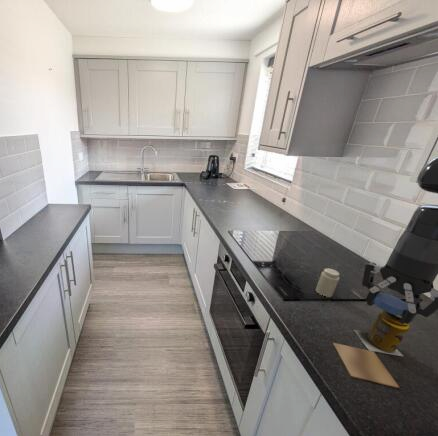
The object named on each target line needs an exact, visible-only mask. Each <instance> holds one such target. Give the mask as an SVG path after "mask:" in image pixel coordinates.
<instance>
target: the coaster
mask: <svg viewBox="0 0 438 436" xmlns="http://www.w3.org/2000/svg"><path fill="white" fill-rule="evenodd" d="M332 345H333V348H334V349H335V351H336V352H337V354H338V356H339V358H340V360H341V362H342V363H343V365H344V367H345V369H346V370H347V372H348V375H349V377H351V378H355V379H358V380H363V381H367V382H371V383H375V384H379V385H383V386H388V387H392V388H395V389H400V386H399V384H398V383H397V381H395V379H394V378H393V376H392V375H391V373H390V372H389V371H388V369H387V368H386V366H385V365H384V364H383V362H382V361H381V359H380V358H379V357H378V356H377V354H376V352H375V351H369V350H368V349H363V348H359V347H354V346H350V345H346V344H342V343H338V342H337V343H336V342H332Z"/></svg>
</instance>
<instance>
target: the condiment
mask: <svg viewBox="0 0 438 436" xmlns="http://www.w3.org/2000/svg"><path fill="white" fill-rule="evenodd" d="M401 317H402V316H399V315H394V314H391V313H389V312H386V311H384V310H382V312H380V313H379V314H378V316H377V318H376V319H375V321H374V323H373V325H372V327H371V329H370V331H365V330H358V329H353V332H354V333H355V334H356V336H357V337H358V338H359V340H360V341H361V343H363V345H364V346H365V347H366V348H367V350H369V351H373V352H374V353H376V352H377V353H381V354H387V355H392V356H399V357H404V355H403V354H402V352H401V351H400V350H398V347H399V345H400V344H401V342H402V340H403V339H404V337H405V335H406V333H407V332H408V331H409V329H410V323H408V324H406V323H404V324H402V323H400V322H399V321H400V319H401Z"/></svg>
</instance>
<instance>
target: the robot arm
mask: <svg viewBox="0 0 438 436" xmlns="http://www.w3.org/2000/svg"><path fill="white" fill-rule="evenodd" d="M416 182H417V185H418V187H419V188H420V189H421V190H423V191H425V192H427V193H432V194H438V156H437V157H435V158H433V159H432V160H430V161H429V162H428V163H426V164H425V165H424V166H423V167H422V168H421V169H420V170H419V172H418V174H417V177H416ZM390 253H391V254H390V256H389V257H388V259H387V261H386V263H385V265H383V266H381V265H377V263H375V262H370V263H367V264H365V266H364V270H363V276H362V280H361V284H362V286H363V287H365V288H367V289H368V290H369V291H368V293H367V295H366V297H365V302H367V303H366V305H367V306H369V307H371V306H373V305H375V303H374V298H375V296H376V295H377V294H378V293H381V292H380V291H382V290H384V289H385V288H387V289H389V290H391V291H396V292H397V293H398V294H400V295H401V296H405V303H406V304H407V305H408V309H407V310H406V311H405V312H404V314H403V316H402V317H401V319H400V321H399V322H400V323H402V324H404V323H406V324H408V323H409V324H411V323H412V322H413V321H414V319H415V318H416V316H417V315H421V316H422V317H424V318H429V317H431V315H433V314H435V312H437V311H438V290H437V289H436V288H434V281H435V279H436V278H437V276H438V204H422V205H419V206H417V207H416V208H415V210H414V211H413V213H412V215H411V217H410V219H409V221H408V223H407V225H406V227H405V229H404V230H403V232H402V233H401V235H400V236H399V238H398V239H397V241H396V243H395V245H394V248H393V249H392V251H391V252H390ZM379 272H380V275H381V277H382V279H383V280H382V281H380V282H379V283H377V284H375V283H374V281H375V274H377V273H379ZM427 293H429V294H430V297H429V298H430V300H431V301H432V302H430V303H429V304H428V305H427V306H426V307H423V306H421V300H422V298H421V296H422V294H427Z"/></svg>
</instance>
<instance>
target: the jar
mask: <svg viewBox="0 0 438 436" xmlns="http://www.w3.org/2000/svg"><path fill="white" fill-rule="evenodd" d="M339 281H340V272H339V271H338V270H335V269H334V268H329V267H328V268H327V267H326V268H324V269H323V271H322V272H321V273H320V275H319V278H318V281H317V284H316V287H315V288H314V289H315V292H316V293H317V294H318V293H319V294H318V295H320V296H322V295H323V296H322V297H324V296H326V297H325V298H332V297H333V296H334V293H335V290H336V289H337V286H338V283H339Z"/></svg>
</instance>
